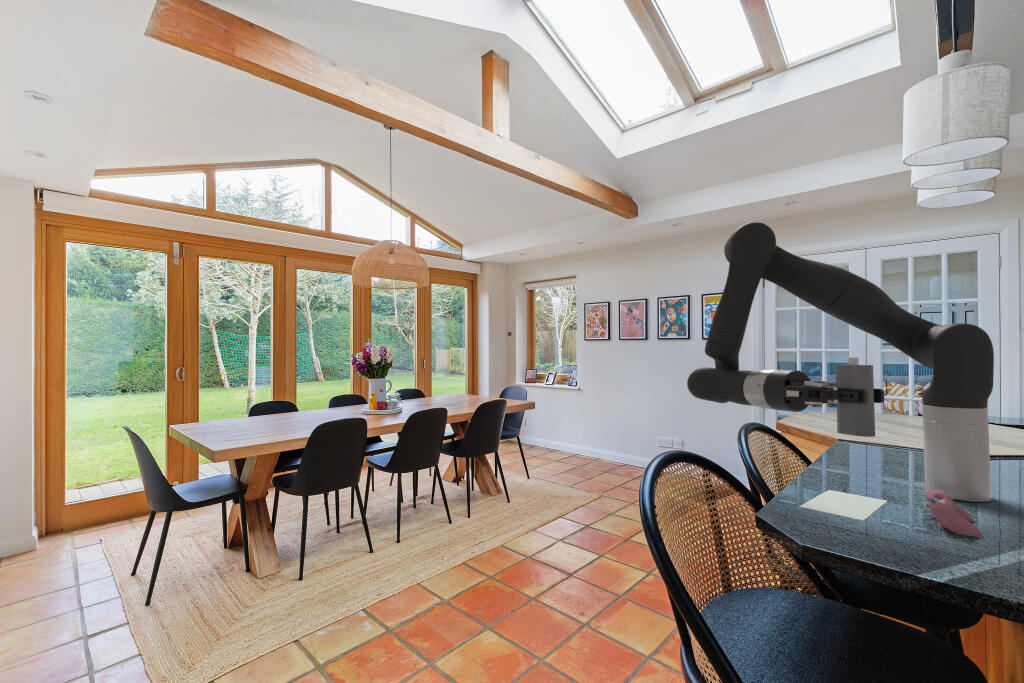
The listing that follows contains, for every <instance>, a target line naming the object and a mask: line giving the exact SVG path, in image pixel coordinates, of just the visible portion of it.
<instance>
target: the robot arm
mask: <svg viewBox="0 0 1024 683" xmlns="http://www.w3.org/2000/svg"><path fill="white" fill-rule="evenodd" d="M723 249H724V250H723V252H724V253H723V254H724V256H725V259H726V261H727V262H728V264H729V265H728V273H727V277H726V282H725V285H724V289H723V291H722V293H721V297H720V299H719V302H718V304H717V306H716V310H715V312H714V315H713V317H712V321H711V324H710V327H709V332H708V333H707V335H708V336H707V338H706V342H705V346H704V353H705V355H706V356H708V357H709V358H711V359H713V361H714V365H715V366H714V367H699V368H697V369H695V370H693V371H692V372H691V373H690V374H689V376H688V377H687V381H686V385H687V386H686V387H687V388H688V392H689V393H690V394H691V395H692V396H693V397H694V398H696V399H700V400H703V401H708V402H713V403H718V404H726V403H729V402H730V403H733V404H734V403H735V404H738V405H743V406H753V407H758V408H761V409H766V410H768V409H769V410H776V411H784V412H785V411H786V412H793V413H799V412H803V411H805V410H806V409H807V408H808V407H809V406H810V405H816V404H817V405H830V404H836V403H840V402H846V403H858V404H866V403H867V402H868V396H867V391H866V390H865V389H849V388H840V387H837V386H836V382H827V381H826V380H811V378H810V377H809V375H807V374H806V373H805V372H803V371H801V370H797V369H795V370H793V369H792V370H791V369H790V370H789V369H760V370H740V365H739V364H740V362H739V359H740V358H739V357H740V351H741V348H742V344H743V341H744V337H745V333H746V331H747V330H746V329H747V325H748V322H749V319H750V318H749V317H750V313H751V309H752V306H753V302H754V299H755V296H756V294H757V293H756V292H757V289H758V287H759V284H760V281H761V279H763V280H765V281H767V282H770V283H773V284H775V285H777V286H778V287H780V288H782V289H783V290H785V291H787V292H788V293H790V294H791V295H793V296H795V297H797V298H799V299H800V300H802V301H803V302H806V303H808V304H809V305H812V306H813V307H815V308H816V309H818V310H820V311H822V312H824V313H825V314H827V315H830V316H832V317H833V318H836V319H838V320H839V321H842V322H843V323H846V324H847V325H850V326H852V327H854V328H856V329H859V330H860V331H863V332H865V333H867V334H870V335H872V336H874V337H876V338H879V339H881V341H882V340H883V341H884V342H886V343H888V344H889V345H891V346H892V347H894V348H895V349H897V350H898V351H900V352H902V353H903V354H905V355H906V356H908V357H909V358H910V359H912V360H914V361H915V362H917V363H918V364H919V365H922V366H924V367H926V368H928V369H931V370H933V372H932V374H933V375H932V382H931V383H930V385H929V386H928V387H927V388H926V389H924V390H923V391H922V394H921V403H922V406H921V408H922V428H923V429H922V430H923V431H922V432H923V433H922V434H923V435H922V436H923V458H924V459H923V462H924V467H923V468H924V492H925V493H926V492H927V491H931V490H938V491H940V490H941V491H942V492H945V493H947V494H948V495H950V496H951V498H952V500H955V501H956V500H958V501H965V502H975V503H976V502H977V503H985V502H990V501H992V488H991V487H992V486H991V485H992V484H991V483H992V482H991V477H992V476H991V457H990V456H991V455H990V454H991V453H990V432H989V428H990V426H989V408H988V407H989V406H988V403H989V402H988V400H989V398H990V397H991V394H992V392H993V390H994V369H995V355H994V351H995V350H994V346H993V342H992V339H991V338H990V336H989V335H988V333H987V332H986V331H985V330H984V329H983V328H981V327H979V326H977V325H975V324H971V323H960V322H959V323H952V324H950V323H949V324H938V323H935V322H932V321H929V320H927V319H924V318H922V317H920V316H917V315H915V314H914V313H911V312H909V311H908V310H905V309H904V308H902V307H901V306H899V304H897V303H896V302H895V301H894V300H893V299H892V298H891V297H890V296H889V294H887V293H886V292H885V291H883V289H881V288H880V287H879V286H878V285H877V284H875V283H873V282H871V281H869V280H868V279H866V278H864V277H861V276H859V275H857V274H855V273H853V272H852V271H849V270H847V269H844V268H842V267H839V266H835V265H832V264H829V263H825V262H820V261H816V260H813V259H812V260H811V259H808V258H805V257H801V256H799V255H795V254H793V253H791V252H789V251H787V250H785V249H784V248H782V247H780V246H778V245H777V238H776V234H775V232H774V230H773V229H772V228H771V227H770V226H769V225H768V224H766V223H763V222H759V221H752V222H746V223H744V224H743V225H741V226H739V227H738V228H737V229H735V230H734V231H733V232H732V234H731V235H730V236H729V238H728V239H727V240H726V242H725V245H724V248H723ZM839 390H840V391H839ZM884 402H885V390H884V389H882V388H875V387H874V404H883V403H884Z"/></svg>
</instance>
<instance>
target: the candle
mask: <svg viewBox="0 0 1024 683" xmlns="http://www.w3.org/2000/svg"><path fill="white" fill-rule="evenodd" d="M834 366H835V368H834V369H835V383H836V386H837V387H840V388H849V389H865V390H866V391H867V396H868V402H867V403H866V404H858V403H846V402H840V403H835V405H836V430H837V431H836V432H837V433H838V434H843V435H849V436H854V437H866V438H870V437H871V438H873V437H876V417H875V416H876V415H875V414H876V413H875V403H874V388H875V385H874V384H875V382H874V365H872V364H860V363H859V357H848V364H835V365H834ZM839 391H840V390H839Z"/></svg>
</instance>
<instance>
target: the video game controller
mask: <svg viewBox="0 0 1024 683" xmlns="http://www.w3.org/2000/svg"><path fill="white" fill-rule="evenodd" d="M924 496H925V500H926V502H925V501H923V506H924V507H925V508H926V509H928V510H929V512H930V513H931V515H932V517H933V518H934V519H935V520H936V521H937V522H938V526H939V527H942V528H944V529H947V530H948V531H950V532H952V533H954V534H959V535H961V536H962V535H963V536H968V537H976V538H984V534H983V533H982V531H981V530H980V528H978V527H977V526H976V525H974V524H973V523H971V522H974V518H973V516H972V515H971V514H970V513H969V512H967V511H966V510H965V509H964V508H962V507H961V506H959V505H958V504H957V503H955V502H954V499H952V498H951V496H950V495H948V494H947V493H945V492H942V491H941V490H940V491H938V490H931V491H927V492H926V491H925V493H924Z"/></svg>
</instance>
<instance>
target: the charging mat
mask: <svg viewBox="0 0 1024 683" xmlns="http://www.w3.org/2000/svg"><path fill="white" fill-rule="evenodd" d="M887 502H888V500H885V499H880V498H875V497H869V496H863V495H858V494H853V493H848V492H842V491H837V490H832V489H828V490H826V491H824V492H823V493H821V494H819V495H817V496H816V497H814V498H811V499H809V500H808V501H806V502H804V503H803V504H801V505H799V506H798V507H799V508H804V509H808V510H811V511H816V512H820V513H821V512H822V513H826V514H832V515H834V516H835V515H836V516H838V517H844V518H848V519H855V520H858V521H862V522H864V521H866V519H867V518H869V517H870V516H871V515H873V514H874V513H875V512H876V511H878V510H879V509H880V508H881V507H882V506H884V505H885V504H886V503H887Z"/></svg>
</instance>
